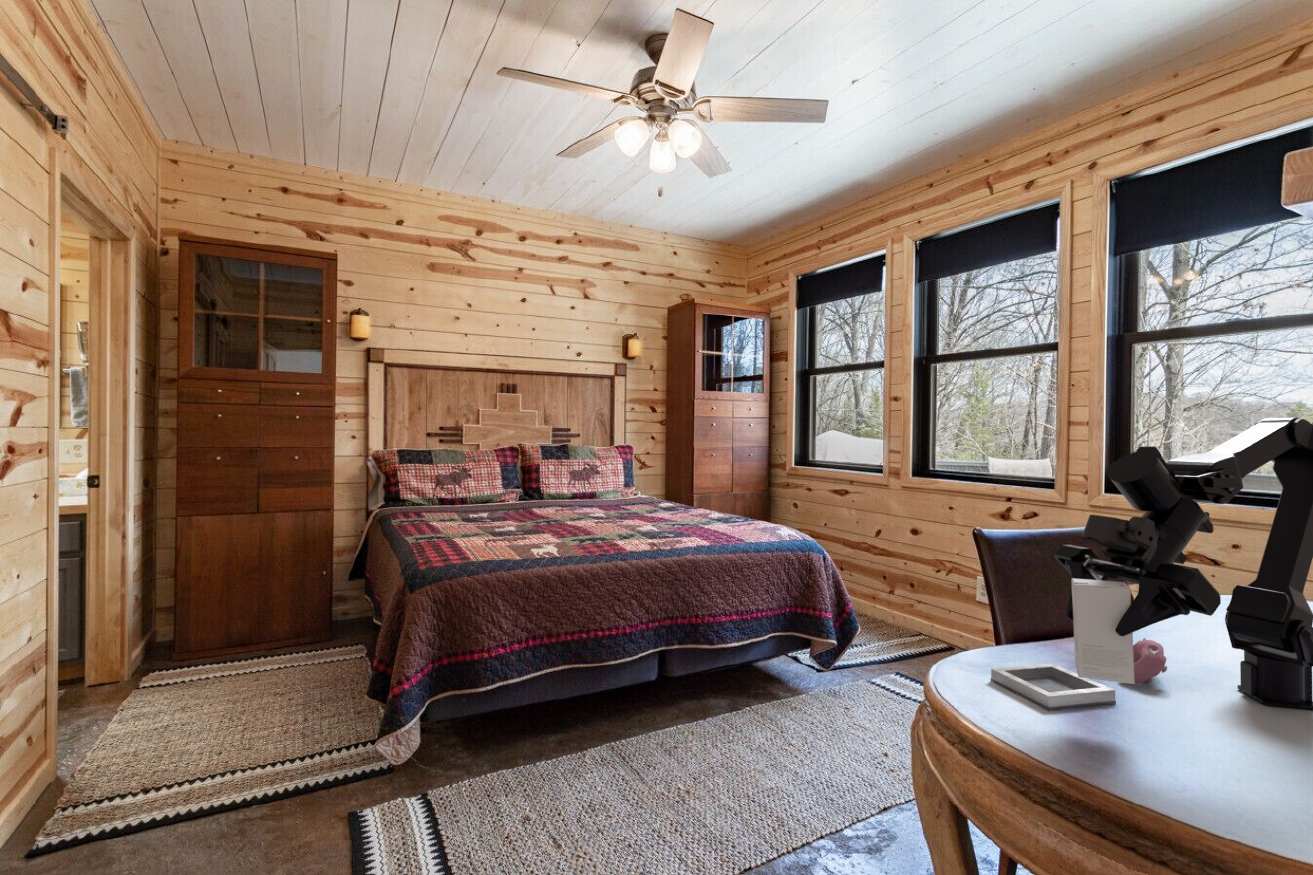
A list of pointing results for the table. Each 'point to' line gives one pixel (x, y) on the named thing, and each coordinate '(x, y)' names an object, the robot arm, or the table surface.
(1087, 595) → the skincare box
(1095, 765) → the table surface
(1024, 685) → the collar
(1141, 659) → the video game controller
